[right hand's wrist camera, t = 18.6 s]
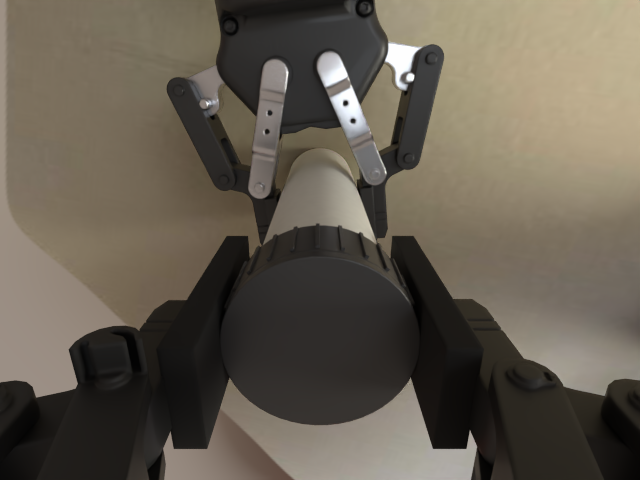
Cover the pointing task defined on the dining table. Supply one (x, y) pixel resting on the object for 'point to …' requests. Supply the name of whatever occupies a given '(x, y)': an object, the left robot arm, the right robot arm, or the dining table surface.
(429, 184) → the dining table surface
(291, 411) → the lid
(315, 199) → the bottle
